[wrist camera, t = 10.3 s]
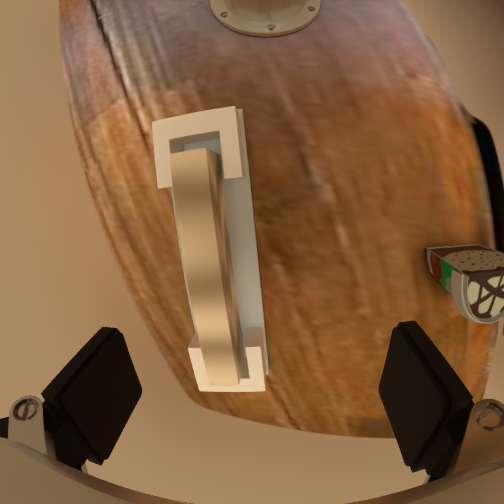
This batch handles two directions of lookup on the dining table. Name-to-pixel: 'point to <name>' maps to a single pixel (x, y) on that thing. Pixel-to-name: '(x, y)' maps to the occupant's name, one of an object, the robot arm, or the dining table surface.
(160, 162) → the frame
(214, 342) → the slat
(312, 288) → the dining table surface
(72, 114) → the dining table surface
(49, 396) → the robot arm
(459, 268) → the food container
